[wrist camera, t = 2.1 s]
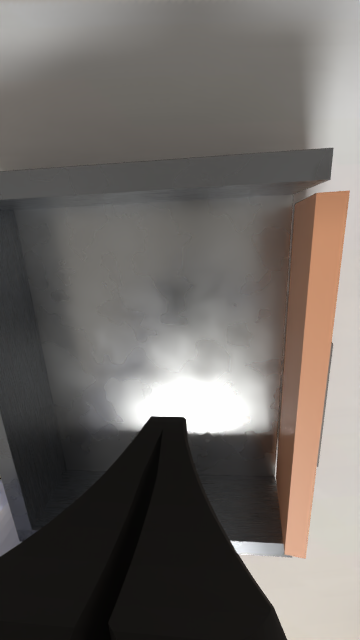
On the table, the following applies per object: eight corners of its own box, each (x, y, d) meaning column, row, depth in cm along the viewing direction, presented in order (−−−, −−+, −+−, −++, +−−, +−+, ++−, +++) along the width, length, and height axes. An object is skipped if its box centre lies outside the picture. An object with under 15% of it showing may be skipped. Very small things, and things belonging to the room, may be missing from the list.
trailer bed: (270, 476, 21) (292, 557, 16) (62, 469, 23) (19, 541, 17) (289, 176, 15) (333, 147, 10) (5, 194, 17) (-87, 177, 11)
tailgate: (294, 480, 19) (308, 559, 14) (276, 478, 19) (284, 554, 15) (320, 202, 14) (354, 190, 9) (294, 204, 14) (316, 192, 10)
